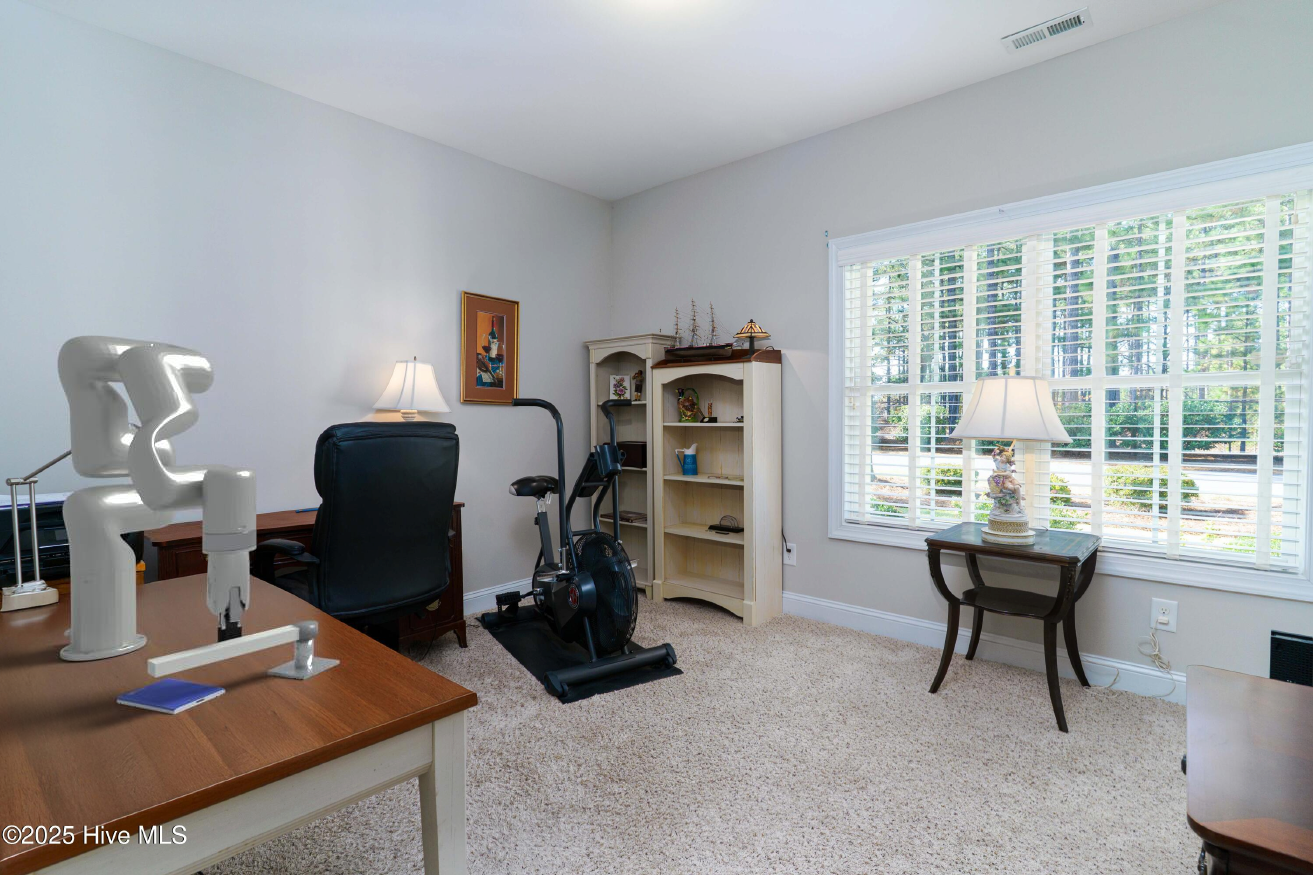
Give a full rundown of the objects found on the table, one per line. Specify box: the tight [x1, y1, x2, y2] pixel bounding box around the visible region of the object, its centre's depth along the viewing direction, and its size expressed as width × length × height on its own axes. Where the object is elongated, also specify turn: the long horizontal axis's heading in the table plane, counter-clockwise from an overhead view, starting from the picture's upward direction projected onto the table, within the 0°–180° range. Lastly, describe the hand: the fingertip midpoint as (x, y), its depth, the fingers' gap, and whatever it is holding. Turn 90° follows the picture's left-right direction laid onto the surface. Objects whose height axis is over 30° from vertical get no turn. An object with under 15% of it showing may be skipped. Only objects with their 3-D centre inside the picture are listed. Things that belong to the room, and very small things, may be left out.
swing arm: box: [147, 620, 319, 678], centre depth 107 cm, size 25×4×2 cm, turn 146°
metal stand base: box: [266, 636, 340, 681], centre depth 115 cm, size 8×8×6 cm
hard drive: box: [116, 677, 226, 715], centre depth 103 cm, size 2×8×12 cm
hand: (229, 649), depth 108 cm, fingers closed
